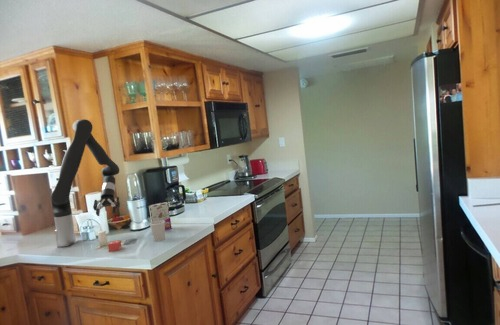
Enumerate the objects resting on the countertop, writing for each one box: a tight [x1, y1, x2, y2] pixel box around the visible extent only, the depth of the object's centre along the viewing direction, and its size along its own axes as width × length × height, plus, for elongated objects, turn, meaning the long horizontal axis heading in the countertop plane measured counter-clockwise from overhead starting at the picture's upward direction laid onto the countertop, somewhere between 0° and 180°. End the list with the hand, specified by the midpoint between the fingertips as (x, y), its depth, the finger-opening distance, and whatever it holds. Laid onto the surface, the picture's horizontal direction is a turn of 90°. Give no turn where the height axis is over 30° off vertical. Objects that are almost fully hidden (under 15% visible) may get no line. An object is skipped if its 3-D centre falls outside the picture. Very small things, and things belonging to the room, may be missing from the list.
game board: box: [94, 237, 139, 251], centre depth 184 cm, size 21×12×1 cm, turn 99°
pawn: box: [97, 230, 108, 247], centre depth 182 cm, size 4×4×8 cm
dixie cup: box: [149, 220, 166, 242], centre depth 187 cm, size 8×8×10 cm
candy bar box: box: [148, 201, 172, 231], centre depth 207 cm, size 11×5×16 cm, turn 117°
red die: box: [108, 239, 122, 252], centre depth 174 cm, size 5×5×5 cm
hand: (105, 214), depth 193 cm, fingers open, 8 cm apart
